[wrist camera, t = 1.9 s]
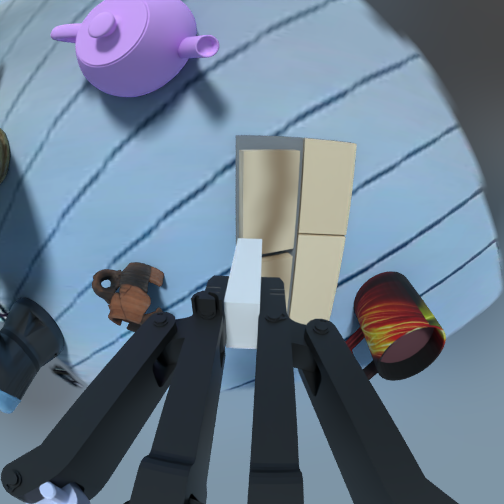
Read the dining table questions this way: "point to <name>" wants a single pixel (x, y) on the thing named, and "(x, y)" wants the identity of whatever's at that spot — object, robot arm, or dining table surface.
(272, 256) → the plank far
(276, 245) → the plank near
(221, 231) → the dining table surface
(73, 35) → the teapot
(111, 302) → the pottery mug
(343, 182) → the floor panel
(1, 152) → the vase
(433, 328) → the mug
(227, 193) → the dining table surface
